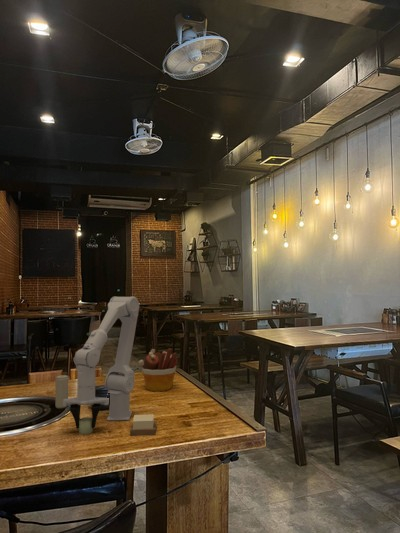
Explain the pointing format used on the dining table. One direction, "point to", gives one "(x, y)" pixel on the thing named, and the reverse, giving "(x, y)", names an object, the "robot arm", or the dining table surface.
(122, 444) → the dining table surface
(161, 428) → the dining table surface
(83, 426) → the green cylinder
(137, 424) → the top block
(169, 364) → the bucket of meat
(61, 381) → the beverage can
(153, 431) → the base block
